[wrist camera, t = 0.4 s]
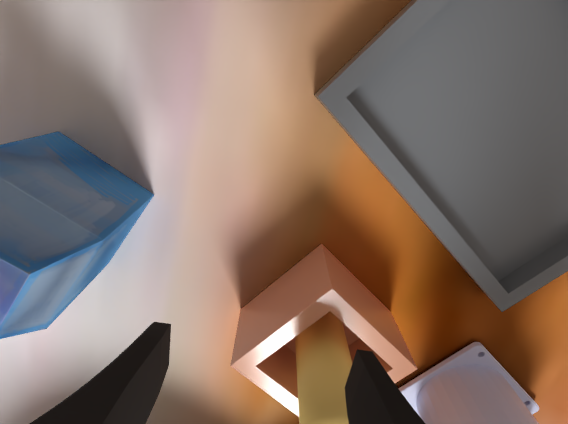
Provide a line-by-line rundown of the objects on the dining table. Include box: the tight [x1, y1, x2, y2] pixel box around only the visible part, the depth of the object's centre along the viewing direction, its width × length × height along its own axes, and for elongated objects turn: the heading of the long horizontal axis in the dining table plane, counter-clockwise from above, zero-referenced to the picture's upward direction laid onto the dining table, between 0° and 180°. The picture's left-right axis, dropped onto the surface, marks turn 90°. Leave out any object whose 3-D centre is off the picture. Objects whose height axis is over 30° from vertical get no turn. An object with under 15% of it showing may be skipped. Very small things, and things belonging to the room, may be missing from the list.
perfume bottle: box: [0, 132, 154, 339], centre depth 15 cm, size 6×6×12 cm
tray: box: [314, 0, 568, 312], centre depth 18 cm, size 18×13×2 cm
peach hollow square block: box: [231, 244, 417, 417], centre depth 21 cm, size 8×8×5 cm
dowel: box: [295, 311, 352, 424], centre depth 19 cm, size 3×3×8 cm
